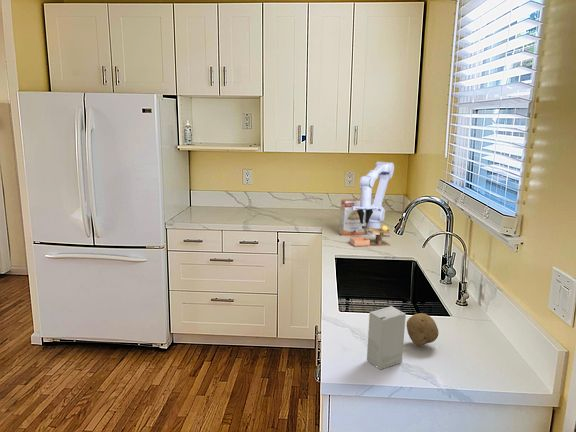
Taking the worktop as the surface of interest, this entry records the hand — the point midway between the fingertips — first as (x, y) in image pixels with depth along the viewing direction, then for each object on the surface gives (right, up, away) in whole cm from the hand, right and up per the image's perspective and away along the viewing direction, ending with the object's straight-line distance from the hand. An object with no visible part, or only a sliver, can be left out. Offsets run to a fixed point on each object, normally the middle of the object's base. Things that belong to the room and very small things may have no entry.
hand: (364, 223), depth 255 cm
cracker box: (-4, -7, +17) cm, 19 cm away
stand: (+2, -12, -6) cm, 13 cm away
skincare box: (-15, -36, -127) cm, 133 cm away
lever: (+5, -6, -3) cm, 8 cm away
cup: (-4, -11, -8) cm, 14 cm away
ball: (+10, -3, -6) cm, 12 cm away
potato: (-2, -35, -117) cm, 122 cm away
